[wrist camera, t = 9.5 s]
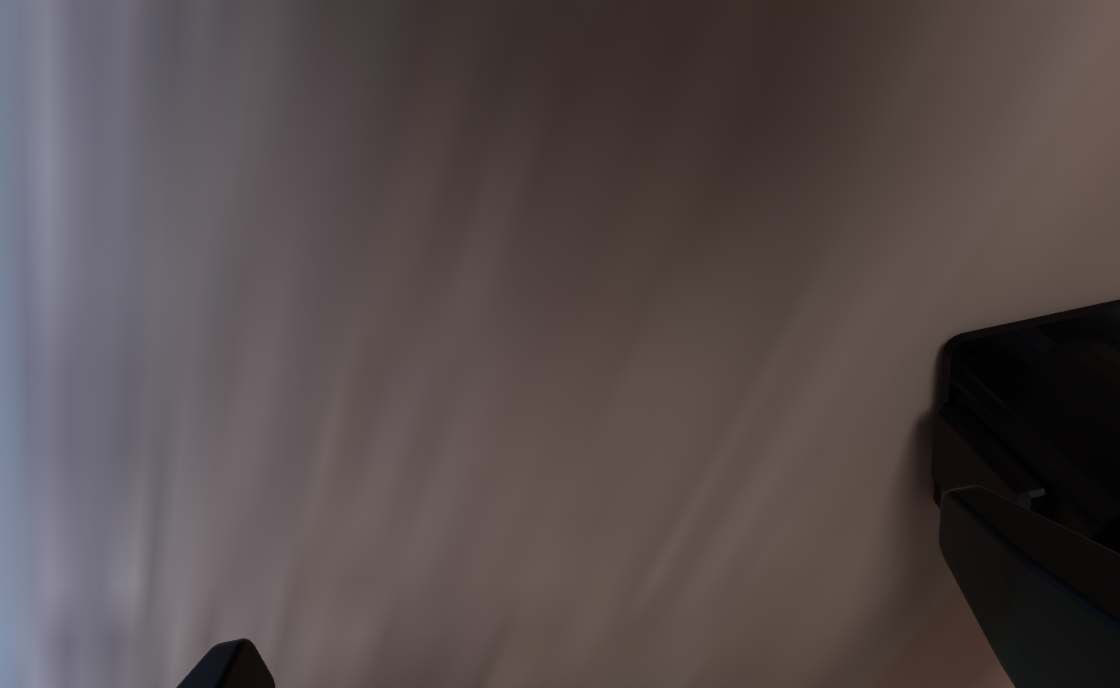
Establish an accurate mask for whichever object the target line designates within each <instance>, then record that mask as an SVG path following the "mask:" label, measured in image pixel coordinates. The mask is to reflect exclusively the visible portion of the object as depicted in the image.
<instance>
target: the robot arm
mask: <svg viewBox="0 0 1120 688" xmlns="http://www.w3.org/2000/svg"><path fill="white" fill-rule="evenodd" d="M966 348H969V349H968V351H967V352H966V353H965V354H964V355H961V352H962V351H963V350H964V349H966ZM960 355H961V356H960ZM932 476H933V478H934V479H935V483H934V497H933V498H934V502H935V503H936V504H937V506H938V507H939V508H940V509H941V512H940V525H939V545H940V549H941V552H942V554H943V557H944V559H945V561H946V562H947V564H948V566H949V568H950V570H951V572H952V574H953V576H954V578H955V579H956V581H957V583H958V585H959V587H960V589H961V591H962V593H963V595H964V597H965V598H966V600H967V602H968V604H969V606H970V608H971V610H972V612H973V614H974V615H975V617H976V619H977V621H978V623H979V625H980V627H981V629H982V631H983V632H984V634H985V636H986V638H987V640H988V642H989V644H990V646H991V648H992V649H993V651H994V653H995V655H996V657H997V658H998V660H999V662H1000V664H1001V665H1002V667H1003V669H1004V670H1005V672H1006V673H1007V675H1008V677H1009V678H1010V680H1011V681H1012V683H1013V685H1014V686H1015V688H1120V300H1115V301H1111V302H1106V303H1101V304H1097V305H1092V306H1087V307H1083V308H1078V309H1073V310H1069V311H1064V312H1059V313H1054V314H1050V315H1045V316H1040V317H1036V318H1031V319H1026V320H1022V321H1017V322H1012V323H1008V324H1003V325H998V326H994V327H989V328H984V329H979V330H975V331H970V332H965V333H961V334H959V335H956V336H954V337H953V338H952V339H950V340H949V341H948V343H947V344H946V346H945V348H944V352H943V366H942V381H941V396H940V405H939V407H938V409H937V411H936V413H935V427H934V442H933V457H932ZM176 688H275V683H274V679H273V677H272V675H271V673H270V671H269V670H268V668H267V666H266V665H265V663H264V661H263V659H262V658H261V656H260V654H259V652H258V651H257V649H256V647H255V645H254V644H253V643H252V642H251V641H250V640H248V639H238V640H233V641H228V642H224V643H219V644H217V645H215V646H214V647H212V648H211V649H210V650H209V651H208V652H207V654H206V655H205V656H204V657H203V658H202V659H201V660H200V661H199V663H198V664H197V665H196V666H195V667H194V668H193V669H192V670H191V672H190V673H189V674H188V675H187V676H186V677H185V678H184V680H183V681H182V682H181V683H180V684H179V685H178V686H177V687H176Z"/></svg>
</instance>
